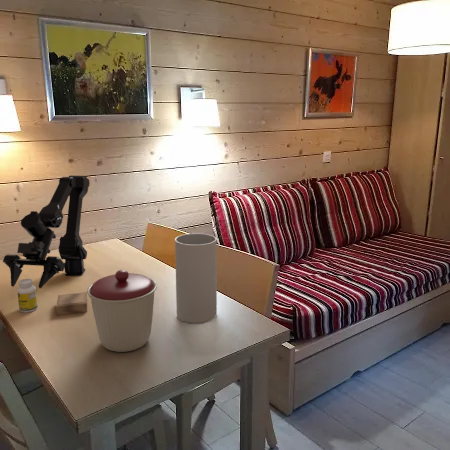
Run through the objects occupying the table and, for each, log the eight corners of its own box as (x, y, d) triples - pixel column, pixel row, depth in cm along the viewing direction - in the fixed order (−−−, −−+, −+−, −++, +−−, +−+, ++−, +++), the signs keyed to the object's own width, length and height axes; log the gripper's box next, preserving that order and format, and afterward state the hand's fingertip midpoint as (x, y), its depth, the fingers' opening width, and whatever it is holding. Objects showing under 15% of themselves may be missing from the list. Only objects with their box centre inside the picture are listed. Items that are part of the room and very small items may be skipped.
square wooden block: (87, 300, 144) (86, 291, 144) (87, 311, 136) (86, 302, 135) (58, 303, 142) (58, 294, 141) (57, 315, 133) (56, 306, 133)
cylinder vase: (209, 304, 142) (208, 231, 136) (222, 320, 131) (222, 242, 124) (172, 310, 138) (170, 235, 131) (182, 327, 126) (181, 246, 120)
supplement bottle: (15, 310, 136) (12, 282, 134) (30, 304, 141) (27, 276, 139) (27, 314, 134) (23, 285, 132) (41, 307, 139) (38, 279, 136)
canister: (79, 341, 118) (73, 270, 113) (135, 320, 130) (132, 255, 125) (113, 368, 105) (108, 289, 100) (172, 342, 118) (170, 270, 113)
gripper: (2, 230, 138) (-16, 274, 130) (57, 232, 136) (42, 277, 128) (19, 247, 147) (3, 289, 139) (70, 249, 145) (57, 292, 137)
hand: (25, 286), depth 135 cm, fingers open, 9 cm apart
